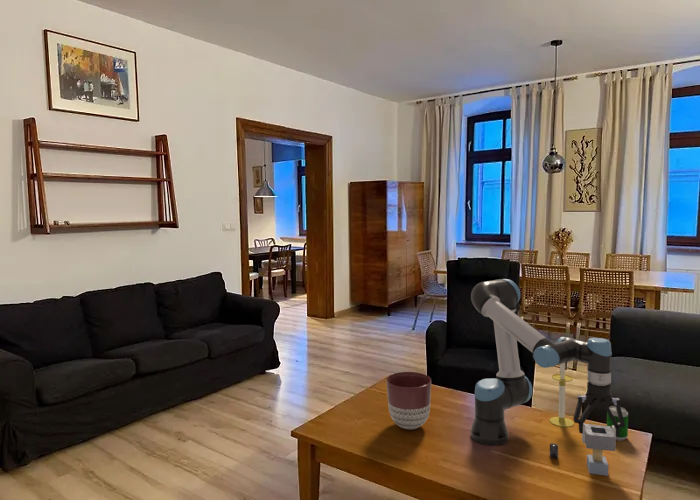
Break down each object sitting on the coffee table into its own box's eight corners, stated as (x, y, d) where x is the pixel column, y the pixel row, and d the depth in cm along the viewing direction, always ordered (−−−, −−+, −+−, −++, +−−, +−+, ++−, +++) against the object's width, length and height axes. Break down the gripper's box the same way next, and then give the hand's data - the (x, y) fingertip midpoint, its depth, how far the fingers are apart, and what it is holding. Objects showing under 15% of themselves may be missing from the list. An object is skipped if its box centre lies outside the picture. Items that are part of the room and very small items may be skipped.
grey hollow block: (586, 448, 170) (586, 434, 170) (582, 436, 179) (582, 423, 178) (615, 451, 167) (615, 437, 167) (609, 439, 176) (610, 426, 176)
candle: (564, 416, 219) (565, 335, 215) (579, 425, 209) (580, 341, 206) (544, 418, 217) (545, 337, 213) (558, 428, 207) (559, 343, 203)
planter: (381, 432, 207) (380, 384, 205) (394, 414, 225) (393, 369, 223) (426, 440, 200) (425, 390, 198) (436, 420, 218) (435, 374, 216)
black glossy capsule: (549, 458, 183) (550, 446, 183) (549, 454, 186) (549, 442, 186) (558, 459, 182) (558, 447, 182) (557, 455, 185) (557, 443, 185)
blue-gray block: (589, 473, 172) (589, 449, 172) (586, 464, 178) (587, 441, 177) (608, 475, 171) (608, 451, 170) (604, 466, 176) (605, 443, 175)
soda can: (630, 442, 194) (631, 413, 193) (609, 440, 195) (610, 412, 194) (623, 433, 201) (624, 405, 200) (604, 432, 203) (604, 404, 201)
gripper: (566, 383, 171) (566, 444, 173) (636, 388, 164) (635, 451, 166) (564, 376, 178) (564, 435, 180) (630, 381, 172) (630, 441, 173)
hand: (598, 443), depth 173 cm, fingers closed on grey hollow block, 9 cm apart
